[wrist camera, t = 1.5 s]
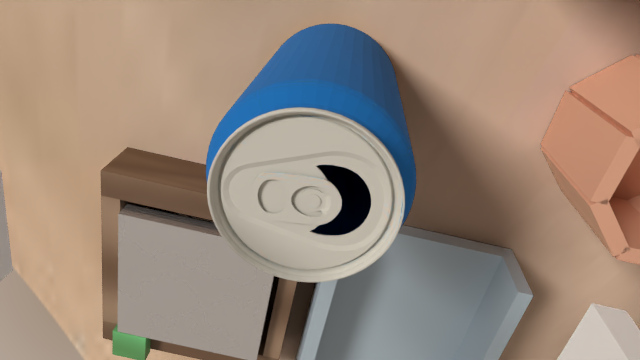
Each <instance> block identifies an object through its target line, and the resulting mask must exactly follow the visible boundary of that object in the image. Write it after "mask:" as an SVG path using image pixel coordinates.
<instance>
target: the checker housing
mask: <svg viewBox="0 0 640 360" xmlns="http://www.w3.org/2000/svg"><path fill="white" fill-rule="evenodd" d="M127 204H130V205H134V206H139V207H143V205H146V206H150V207H155V208H159V209H164V210H168V211H173V212H177V213H182V214H186V215H191V216H195V217H199V218H204V219H208V220H213V219H212V216H211V214H210V210H209V206H208V199H207V179H206V165H203V164H199V163H195V162H190V161H186V160H181V159H177V158H172V157H168V156H164V155H159V154H155V153H150V152H146V151H141V150H137V149H133V148H128V147H127V148H126V149H125V150H124V151H123V152H122V153H120V154H119V155H118V156H117V157H116V158H115V159H114V160H112V161H111V162H110V163H109V164H108V165H107V166H105V167H104V168H103V169H102V170H101V219H102V294H103V338H105V339H109V340H113V354H114V355H118V356H123V357H127V358H132V359H136V360H146V358H147V356H148V354H149V352H150V348H151V349H155V350H160V351H164V352H169V353H174V354H178V355H183V356H187V357H192V358H196V359H201V360H245V359H241V358H236V357H232V356H227V355H223V354H218V353H213V352H209V351H204V350H200V349H195V348H191V347H186V346H181V345H177V344H172V343H168V342H163V341H159V340H154V339H149V338H145V337H140V336H136V335H131V334H127V333H122V332H118V214H119V212H120V211H121V210H122V209H123V208H124V207H125V206H126V205H127ZM296 284H297V281H292V280H286V279H283V278H279V283H278V287H277V292H276V297H275V301H274V306H273V311H272V315H271V320H265V324H264V329H263V334H262V339H261V344H260V349H259V353H258V356H257V360H279V356H280V352H281V348H282V344H283V339H284V335H285V331H286V327H287V322H288V318H289V314H290V310H291V306H292V301H293V297H294V293H295V289H296Z"/></svg>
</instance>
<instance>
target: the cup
mask: <svg viewBox="0 0 640 360" xmlns="http://www.w3.org/2000/svg"><path fill="white" fill-rule="evenodd" d="M569 88H570V90H571V92H568V91H565V93H564V95H563V97H562V100H561V102H560V104H559V106H558V108H557V110H556V112H555V115H554V117H553V119H552V121H551V123H550V125H549V127H548V130H547V132H546V134H545V136H544V138H543V140H542V142H541V145H542V146H543V147H542V148H541V150H542V152H543V154H544V156H545V158H546V160H547V162H548V164H549V166H550V169H551V171H552V173H553V175H554V177H555V179H556V181H557V183H558V185H559V187H560V189H561V191H562V192H563V193H564V195H565V196H566V197H567V198H568V200H569V201H570V202H571V204H572V205H573V206H574V207H575V209H576V210H577V211H578V212H579V214H580V215H581V216H582V218H583V219H584V220H585V221H586V223H587V224H588V225H589V226H590V228H591V229H592V230H593V232H594V233H595V234H596V235H597V237H598V238H599V239H600V240H601V242H602V243H603V244H604V245H605V247H606V248H607V249H608V251H609V252H610V253H611V254H612V256H613V257H614V256H615V257H616V259H617V260H621V261H626V262H630V263H635V264H639V265H640V55H637V54H636V56H635V57H634V56H632V55H630V56H629V57H627V58H625V59H623V60H621V61H619V62H617V63H615V64H613V65H611V66H609V67H607V68H605V69H603V70H601V71H600V72H598V73H596V74H594V75H592V76H590V77H588V78H586V79H584V80H582V81H580V82H578V83H576V84H574V85H572V86H571V87H569Z"/></svg>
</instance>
